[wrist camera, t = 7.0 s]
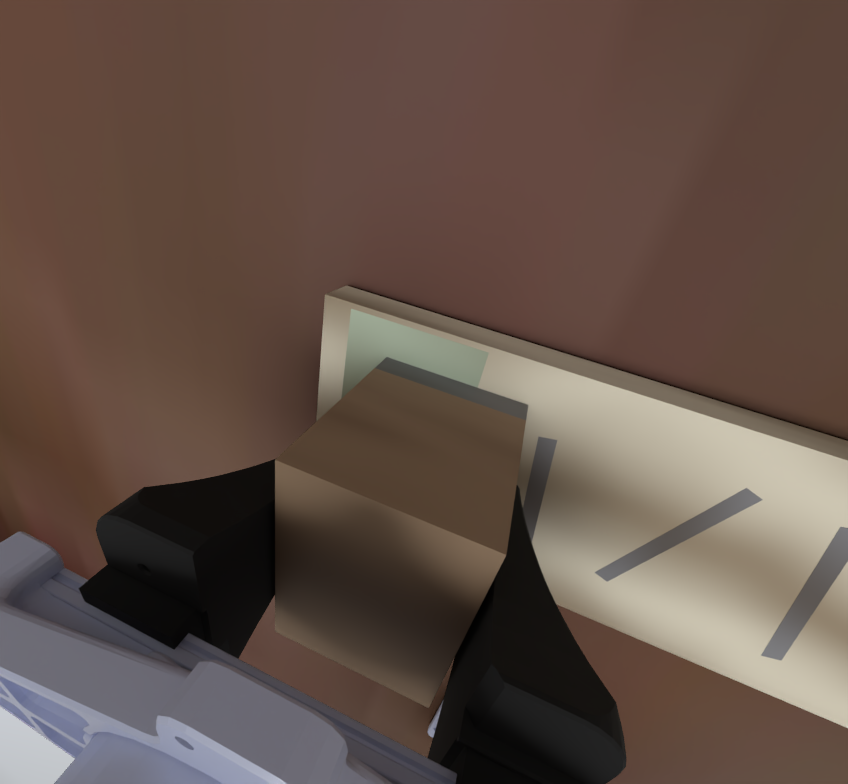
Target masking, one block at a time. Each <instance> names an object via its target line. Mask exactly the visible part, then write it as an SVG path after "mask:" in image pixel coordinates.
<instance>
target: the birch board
mask: <svg viewBox="0 0 848 784" xmlns="http://www.w3.org/2000/svg"><path fill="white" fill-rule="evenodd" d="M386 357H389V358H391V359H394V360H397V361H400V362H403V363H406V364H409V365H412V366H415V367H418V368H421V369H424V370H427V371H430V372H433V373H436V374H439V375H442V376H445V377H448V378H450V379H453V380H456V381H459V382H462V383H465V384H468V385H471V386H474V387H477V388H480V389H483V390H486V391H489V392H492V393H495V394H498V395H501V396H504V397H507V398H510V399H512V400H515V401H518V402H521V403H524V404H527V405H528V411H527V418H526V425H525V431H524V438H523V445H522V452H521V459H520V465H519V472H518V479H517V485H518V487H519V489H520V496H521V502H522V507H523V511H524V516H525V520H526V524H527V528H528V531H529V535H530V538H531V542H532V545H533V548H534V551H535V554H536V557H537V560H538V563H539V565H540V568H541V571H542V573H543V576H544V578H545V581H546V583H547V585H548V588H549V590H550V592H551V594H552V596H553V599H554V601H555V603H556V604H557V605H559V606H562V607H564V608H566V609H569V610H571V611H573V612H576V613H578V614H581V615H583V616H585V617H588V618H590V619H592V620H595V621H597V622H599V623H602V624H604V625H606V626H609V627H611V628H613V629H616V630H618V631H621V632H623V633H625V634H628V635H630V636H632V637H635V638H637V639H639V640H642V641H644V642H646V643H649V644H651V645H653V646H656V647H658V648H661V649H663V650H665V651H668V652H670V653H672V654H675V655H677V656H679V657H682V658H684V659H686V660H689V661H691V662H694V663H696V664H698V665H701V666H703V667H705V668H708V669H710V670H712V671H715V672H717V673H719V674H722V675H724V676H726V677H729V678H731V679H734V680H736V681H738V682H741V683H743V684H745V685H748V686H750V687H752V688H755V689H757V690H759V691H762V692H764V693H766V694H769V695H771V696H774V697H776V698H778V699H781V700H783V701H785V702H788V703H790V704H792V705H795V706H797V707H799V708H802V709H804V710H807V711H809V712H811V713H814V714H816V715H818V716H821V717H823V718H825V719H828V720H830V721H832V722H835V723H837V724H839V725H842V726H844V727H847V728H848V441H846V440H843V439H840V438H836V437H833V436H830V435H827V434H823V433H820V432H817V431H814V430H811V429H807V428H804V427H801V426H798V425H794V424H791V423H788V422H785V421H782V420H778V419H775V418H772V417H769V416H765V415H762V414H759V413H756V412H753V411H749V410H746V409H743V408H740V407H736V406H733V405H730V404H727V403H724V402H720V401H717V400H714V399H711V398H707V397H704V396H701V395H698V394H695V393H691V392H688V391H685V390H682V389H678V388H675V387H672V386H669V385H666V384H662V383H659V382H656V381H653V380H649V379H646V378H643V377H640V376H637V375H633V374H630V373H627V372H624V371H620V370H617V369H614V368H611V367H608V366H604V365H601V364H598V363H595V362H591V361H588V360H585V359H582V358H579V357H575V356H572V355H569V354H566V353H562V352H559V351H556V350H553V349H550V348H546V347H543V346H540V345H537V344H533V343H530V342H527V341H524V340H521V339H517V338H514V337H511V336H508V335H504V334H501V333H498V332H495V331H492V330H488V329H485V328H482V327H479V326H475V325H472V324H469V323H466V322H463V321H459V320H456V319H453V318H450V317H446V316H443V315H440V314H437V313H434V312H430V311H427V310H424V309H421V308H417V307H414V306H411V305H408V304H405V303H401V302H398V301H395V300H392V299H388V298H385V297H382V296H379V295H376V294H372V293H369V292H366V291H363V290H359V289H356V288H353V287H350V286H344V287H342V288H339V289H337V290H334V291H332V292H330V293H327V294H325V304H324V318H323V332H322V346H321V361H320V375H319V389H318V403H317V418H316V422H317V421H318V420H319V419H320V418H321V417H322V416H323V415H324V414H325V413H326V412H327V411H329V410H330V409H331V408H332V407H333V406H334V405H335V404H336V403H337V402H338V401H339V400H341V399H342V398H343V397H344V396H345V395H346V394H347V393H348V392H349V391H350V390H351V389H352V388H354V387H355V386H356V385H357V384H358V383H359V382H360V381H361V380H362V379H363V378H364V377H365V376H367V375H368V374H369V373H370V372H371V371H372V370H373V369H374V368H375V367H376V366H377V365H378V364H380V363H381V362H382V361H383V360H384V359H385V358H386Z"/></svg>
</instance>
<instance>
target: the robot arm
mask: <svg viewBox="0 0 848 784" xmlns="http://www.w3.org/2000/svg"><path fill="white" fill-rule="evenodd" d="M96 532H97V536H98V539H99V542H100V545H101V547H102V550H103V553H104V555H105V558H106V561H107V563H108V565H107V566H105V567H104V568H103V569H102V570H100V571H99V572H98V573H97V574H96V575H94V576H93V577H92V578H91V579H89V580H87V579H85V578H83V577H81V576H79V575H77V574H76V573H74V572H72V571H70V570H68V569H66V568H64V563H63V560H62V558H61V556H60V555H59V553H58V552H57V551H56V550H55V549H54V548H53V547H51V546H50V545H48V544H46V543H44V542H42V541H40V540H38V539H36V538H34V537H32V536H30V535H29V534H27V533H25V532H17V533H16V534H14V535H12V536H11V537H9V538H8V539H6V540H4V541H3V542H1V543H0V706H1V707H2V708H4V709H5V710H6V711H8V712H9V713H11V714H12V715H14V716H15V717H17V718H18V719H19V720H21V721H22V722H24V723H25V724H27V725H28V726H29V727H31V728H32V729H34V730H35V731H37V732H38V733H39V734H41V735H42V736H44V737H45V738H46V739H48V740H49V741H51V742H52V743H54V744H55V745H56V746H58V747H59V748H61V749H62V750H64V751H65V752H66V753H68V754H69V755H71V756H72V757H73V758H75V760H74V761H73V762H72V763H71V764H70V766H69V767H68V768H67V769H66V770H65V771H64V773H63V774H62V775H61V776H60V778H58V780H57V781H56V782H55V783H54V784H606V783H607V782H609V781H610V780H612V779H613V778H615V777H616V776H617V775H619V774H620V773H621V771H622V770H623V769H624V768H625V767H626V752H625V743H624V736H623V731H622V727H621V722H620V718H619V713H618V709H617V705H616V702H615V700H614V699H613V697H612V696H611V695H610V693H609V692H608V690H607V689H606V687H605V686H604V684H603V683H602V681H601V680H600V678H599V677H598V676H597V674H596V673H595V671H594V670H593V668H592V667H591V665H590V664H589V662H588V661H587V659H586V657H585V656H584V654H583V652H582V651H581V649H580V647H579V646H578V644H577V643H576V641H575V639H574V637H573V635H572V633H571V631H570V630H569V628H568V626H567V624H566V622H565V620H564V619H563V617H562V615H561V613H560V611H559V609H558V607H557V605H556V603H555V601H554V599H553V596H552V594H551V592H550V590H549V588H548V585H547V583H546V581H545V578H544V576H543V573H542V571H541V568H540V565H539V563H538V560H537V557H536V554H535V551H534V548H533V545H532V542H531V538H530V535H529V531H528V528H527V524H526V520H525V516H524V511H523V507H522V502H521V496H520V489H519V487H518V485H517V486H516V493H515V500H514V506H513V513H512V520H511V527H510V534H509V541H508V547H507V554H506V557H505V559H504V561H503V563H502V565H501V567H500V569H499V571H498V572H497V574H496V576H495V578H494V580H493V582H492V584H491V586H490V588H489V590H488V592H487V594H486V596H485V598H484V600H483V602H482V604H481V606H480V608H479V610H478V612H477V614H476V616H475V618H474V620H473V622H472V624H471V625H470V627H469V629H468V631H467V633H466V635H465V637H464V639H463V641H462V643H461V645H460V647H459V649H458V651H457V653H456V655H455V658H454V662H453V666H452V670H451V674H450V678H449V681H448V685H447V689H446V693H445V696H444V700H443V701H442V703H441V705H440V707H439V709H438V711H437V712H436V714H435V716H434V718H433V720H432V722H431V723H430V725H429V728H428V734H429V736H431V737H432V738H433V741H432V744H431V748H430V751H429V755H428V758H426V757H424V756H422V755H420V754H419V753H417V752H415V751H413V750H411V749H409V748H407V747H405V746H403V745H401V744H400V743H398V742H396V741H394V740H392V739H390V738H388V737H386V736H384V735H382V734H380V733H379V732H377V731H375V730H373V729H371V728H369V727H367V726H365V725H363V724H361V723H360V722H358V721H356V720H354V719H352V718H350V717H348V716H346V715H344V714H342V713H340V712H339V711H337V710H335V709H333V708H331V707H329V706H327V705H325V704H323V703H321V702H319V701H318V700H316V699H314V698H312V697H310V696H308V695H306V694H304V693H302V692H300V691H299V690H297V689H295V688H293V687H291V686H289V685H287V684H285V683H283V682H281V681H279V680H278V679H276V678H274V677H272V676H270V675H268V674H266V673H264V672H262V671H260V670H259V669H257V668H255V667H253V666H251V665H249V664H247V663H245V662H243V661H241V660H239V659H238V658H239V656H240V655H241V653H242V651H243V649H244V647H245V646H246V644H247V642H248V640H249V638H250V637H251V635H252V633H253V631H254V629H255V628H256V626H257V624H258V622H259V621H260V619H261V617H262V615H263V614H264V612H265V610H266V609H267V607H268V605H269V603H270V602H271V600H272V598H273V597H274V595H275V459H274V460H271V461H268V462H265V463H262V464H259V465H256V466H253V467H250V468H246V469H242V470H239V471H235V472H231V473H227V474H224V475H219V476H215V477H210V478H205V479H200V480H194V481H189V482H183V483H175V484H167V485H160V486H152V487H144V488H142V489H141V490H139V491H138V492H136V493H135V494H133V495H132V496H131V497H129V498H128V499H126V500H125V501H123V502H122V503H120V504H119V505H118V506H116V507H115V508H113V509H112V510H110V511H109V512H108V513H106V514H105V515H103V516H102V517H101V518H100V519H99V520H98V522H97V528H96Z"/></svg>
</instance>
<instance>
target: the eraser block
mask: <svg viewBox="0 0 848 784" xmlns="http://www.w3.org/2000/svg"><path fill="white" fill-rule="evenodd" d="M527 411H528V405H527V404H524V403H521V402H518V401H515V400H512V399H510V398H507V397H504V396H501V395H498V394H495V393H492V392H489V391H486V390H483V389H480V388H477V387H474V386H471V385H468V384H465V383H462V382H459V381H456V380H453V379H450V378H448V377H445V376H442V375H439V374H436V373H433V372H430V371H427V370H424V369H421V368H418V367H415V366H412V365H409V364H406V363H403V362H400V361H397V360H394V359H391V358H389V357H386V358H385V359H384V360H383V361H382V362H381V363H380V364H378V365H377V366H376V367H375V368H374V369H373V370H372V371H371V372H370V373H369V374H368V375H367V376H365V377H364V378H363V379H362V380H361V381H360V382H359V383H358V384H357V385H356V386H355V387H354V388H352V389H351V390H350V391H349V392H348V393H347V394H346V395H345V396H344V397H343V398H342V399H341V400H339V401H338V402H337V403H336V404H335V405H334V406H333V407H332V408H331V409H330V410H329V411H327V412H326V413H325V414H324V415H323V416H322V417H321V418H320V419H319V420H318V421H317V422H316V423H314V424H313V425H312V426H311V427H310V428H309V429H308V430H307V431H306V432H305V433H304V434H303V435H301V436H300V437H299V438H298V439H297V440H296V441H295V442H294V443H293V444H292V445H291V446H290V447H288V448H287V449H286V450H285V451H284V452H283V453H282V454H281V455H280V456H279V457H278V458H276V459H275V632H277V633H279V634H281V635H283V636H285V637H287V638H289V639H291V640H293V641H295V642H297V643H299V644H301V645H303V646H305V647H307V648H309V649H311V650H313V651H315V652H317V653H319V654H321V655H323V656H325V657H327V658H329V659H331V660H333V661H335V662H337V663H339V664H341V665H343V666H345V667H347V668H349V669H351V670H353V671H355V672H357V673H359V674H361V675H363V676H365V677H367V678H369V679H371V680H373V681H375V682H377V683H379V684H381V685H383V686H385V687H387V688H389V689H391V690H393V691H395V692H397V693H399V694H401V695H403V696H405V697H407V698H409V699H411V700H413V701H415V702H417V703H419V704H421V705H423V706H425V707H427V708H429V706H430V704H431V702H432V700H433V698H434V696H435V694H436V692H437V690H438V688H439V686H440V684H441V682H442V680H443V679H444V677H445V675H446V673H447V671H448V669H449V667H450V665H451V663H452V661H453V659H454V657H455V655H456V653H457V651H458V649H459V647H460V645H461V643H462V641H463V639H464V637H465V635H466V633H467V631H468V629H469V627H470V625H471V624H472V622H473V620H474V618H475V616H476V614H477V612H478V610H479V608H480V606H481V604H482V602H483V600H484V598H485V596H486V594H487V592H488V590H489V588H490V586H491V584H492V582H493V580H494V578H495V576H496V574H497V572H498V571H499V569H500V567H501V565H502V563H503V561H504V559H505V557H506V554H507V547H508V541H509V534H510V527H511V520H512V513H513V506H514V500H515V493H516V486H517V479H518V472H519V465H520V459H521V452H522V445H523V438H524V431H525V425H526V418H527Z"/></svg>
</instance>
